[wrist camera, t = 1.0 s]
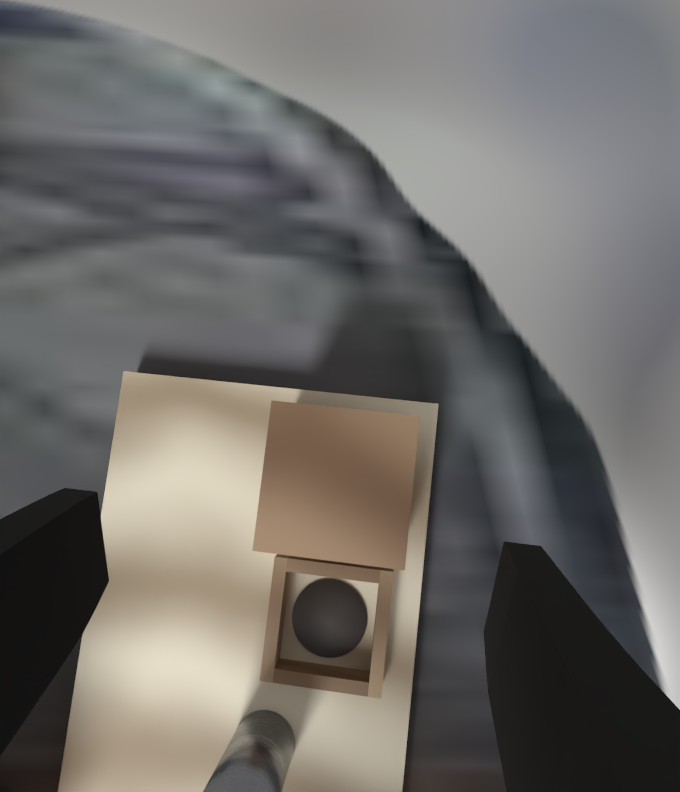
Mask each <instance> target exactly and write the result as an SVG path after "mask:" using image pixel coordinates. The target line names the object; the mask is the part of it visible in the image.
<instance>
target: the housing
mask: <svg viewBox="0 0 680 792" xmlns="http://www.w3.org/2000/svg"><path fill="white" fill-rule="evenodd" d="M419 419H420V416H415V415H405V414H396V413H386V412H377V411H367V410H358V409H348V408H339V407H329V406H320V405H311V404H301V403H292V402H282V401H273V400H271V408H270V416H269V424H268V432H267V440H266V448H265V455H264V463H263V471H262V479H261V487H260V495H259V503H258V511H257V519H256V527H255V535H254V542H253V550H252V551H257V552H265V553H273V554H281V555H288V556H296V557H304V558H312V559H320V560H328V561H335V562H343V563H351V564H359V565H367V566H374V567H382V568H390V569H398V570H405V563H406V553H407V543H408V532H409V522H410V512H411V501H412V491H413V481H414V470H415V460H416V450H417V440H418V429H419Z"/></svg>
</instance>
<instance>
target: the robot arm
mask: <svg viewBox="0 0 680 792" xmlns="http://www.w3.org/2000/svg"><path fill="white" fill-rule="evenodd" d="M108 582H109V576H108V569H107V561H106V554H105V546H104V539H103V532H102V524H101V517H100V509H99V502H98V494H97V492H93V491H84V490H76V489H68V488H64V489H62V490H60V491H57V492H55V493H52V494H50V495H48V496H46V497H44V498H42V499H40V500H38V501H36V502H34V503H32V504H30V505H28V506H26V507H24V508H22V509H20V510H18V511H16V512H14V513H12V514H10V515H8V516H6V517H4V518H2V519H0V756H1V754H2V753H3V751H4V750H5V748H6V747H7V745H8V744H9V742H10V741H11V739H12V738H13V737H14V735H15V734H16V732H17V731H18V729H19V728H20V726H21V725H22V723H23V722H24V720H25V719H26V717H27V716H28V714H29V713H30V711H31V710H32V709H33V707H34V706H35V704H36V703H37V701H38V700H39V698H40V697H41V695H42V694H43V692H44V691H45V689H46V688H47V686H48V685H49V684H50V682H51V681H52V679H53V678H54V676H55V675H56V673H57V672H58V670H59V669H60V667H61V666H62V664H63V663H64V661H65V660H66V658H67V657H68V655H69V654H70V652H71V651H72V649H73V648H74V646H75V645H76V643H77V642H78V640H79V638H80V637H81V635H82V634H83V632H84V630H85V628H86V626H87V625H88V623H89V621H90V619H91V617H92V615H93V613H94V611H95V609H96V607H97V605H98V603H99V601H100V599H101V597H102V595H103V593H104V591H105V589H106V587H107V585H108ZM484 640H485V656H486V670H487V682H488V693H489V698H490V704H491V710H492V715H493V721H494V726H495V731H496V737H497V742H498V747H499V753H500V758H501V763H502V768H503V774H504V779H505V784H506V790H507V792H680V710H679V709H678V708H677V707H676V706H675V704H674V703H673V702H672V701H671V700H670V699H669V698H668V697H667V696H666V695H665V694H664V693H663V692H662V691H661V689H660V688H659V687H658V686H657V685H656V684H655V683H654V682H653V681H652V680H651V679H650V678H649V677H648V676H647V674H646V673H645V672H644V671H643V670H642V669H641V668H640V667H639V666H638V665H637V663H636V662H635V661H634V660H633V659H632V658H631V657H630V655H629V654H628V653H627V652H626V651H625V650H624V649H623V647H622V646H621V645H620V644H619V643H618V642H617V640H616V639H615V638H614V637H613V636H612V634H611V633H610V632H609V631H608V630H607V629H606V627H605V626H604V625H603V624H602V623H601V621H600V620H599V619H598V618H597V616H596V615H595V614H594V613H593V612H592V610H591V609H590V608H589V607H588V605H587V604H586V603H585V602H584V600H583V599H582V598H581V597H580V595H579V594H578V593H577V591H576V590H575V589H574V588H573V586H572V585H571V584H570V583H569V581H568V580H567V579H566V577H565V576H564V575H563V574H562V572H561V571H560V570H559V569H558V567H557V566H556V565H555V563H554V562H553V561H552V560H551V558H550V557H549V556H548V555H547V553H546V552H545V551H544V550H543V548H542V547H541V546H535V545H527V544H519V543H511V542H504V544H503V548H502V553H501V557H500V562H499V566H498V571H497V575H496V580H495V584H494V589H493V593H492V598H491V602H490V607H489V611H488V616H487V620H486V625H485V629H484Z"/></svg>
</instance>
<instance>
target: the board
mask: <svg viewBox="0 0 680 792" xmlns="http://www.w3.org/2000/svg"><path fill="white" fill-rule="evenodd" d="M271 400H273V401H282V402H292V403H301V404H311V405H320V406H329V407H339V408H348V409H358V410H367V411H377V412H386V413H396V414H405V415H415V416H420V419H419V429H418V440H417V450H416V460H415V470H414V481H413V491H412V501H411V512H410V522H409V532H408V543H407V553H406V563H405V570H398V569H390V568H382V567H374V566H367V565H359V564H351V563H343V562H335V561H328V560H320V559H312V558H304V557H296V556H288V555H281V554H273V553H265V552H257V551H252V550H253V542H254V535H255V527H256V519H257V511H258V503H259V495H260V487H261V479H262V471H263V463H264V455H265V448H266V440H267V432H268V424H269V416H270V408H271ZM437 415H438V404H436V403H426V402H416V401H407V400H397V399H387V398H378V397H368V396H358V395H349V394H339V393H329V392H320V391H310V390H300V389H291V388H281V387H272V386H262V385H252V384H243V383H233V382H223V381H214V380H204V379H194V378H185V377H175V376H165V375H156V374H146V373H136V372H127V371H123V378H122V384H121V391H120V397H119V403H118V410H117V416H116V423H115V429H114V435H113V442H112V448H111V455H110V461H109V467H108V474H107V480H106V487H105V493H104V499H103V506H102V512H101V524H102V532H103V539H104V546H105V554H106V561H107V569H108V576H109V582H108V585H107V587H106V589H105V591H104V593H103V595H102V597H101V599H100V601H99V603H98V605H97V607H96V609H95V611H94V613H93V615H92V617H91V619H90V621H89V623H88V625H87V626H86V628H85V630H84V632H83V634H82V640H81V647H80V653H79V659H78V666H77V672H76V679H75V685H74V691H73V698H72V704H71V711H70V717H69V723H68V730H67V736H66V743H65V749H64V755H63V762H62V768H61V775H60V781H59V787H58V792H203V791H204V789H205V787H206V785H207V783H208V782H209V780H210V778H211V776H212V774H213V772H214V770H215V769H216V767H217V765H218V763H219V761H220V759H221V757H222V755H223V754H224V752H225V750H226V748H227V746H228V744H229V742H230V741H231V739H232V737H233V735H234V733H235V731H236V729H237V728H238V726H239V724H240V722H241V721H242V720H243V719H244V718H245V717H246V716H247V715H249V714H250V713H252V712H255V711H258V710H270V711H274V712H276V713H278V714H280V715H281V716H283V717H284V718H285V719H286V720H287V721H288V723H289V724H290V726H291V728H292V730H293V733H294V737H295V748H294V753H293V756H292V759H291V763H290V766H289V770H288V773H287V776H286V780H285V783H284V786H283V790H282V792H402V789H403V778H404V768H405V757H406V746H407V736H408V725H409V714H410V704H411V693H412V682H413V672H414V661H415V650H416V639H417V629H418V618H419V607H420V597H421V586H422V575H423V565H424V554H425V543H426V533H427V522H428V511H429V501H430V490H431V479H432V469H433V458H434V447H435V436H436V426H437Z"/></svg>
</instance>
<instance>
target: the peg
mask: <svg viewBox="0 0 680 792" xmlns="http://www.w3.org/2000/svg"><path fill="white" fill-rule="evenodd" d="M294 748H295V737H294V733H293V730H292V728H291V726H290V724H289V723H288V721H287V720H286V719H285V718H284V717H283V716H281V715H280V714H278V713H276V712H274V711H270V710H258V711H255V712H252V713H250V714H249V715H247V716H246V717H245V718H244V719H243V720H242V721H241V722H240V724H239V726H238V728H237V729H236V731H235V733H234V735H233V737H232V739H231V741H230V742H229V744H228V746H227V748H226V750H225V752H224V754H223V755H222V757H221V759H220V761H219V763H218V765H217V767H216V769H215V770H214V772H213V774H212V776H211V778H210V780H209V782H208V783H207V785H206V787H205V789H204V791H203V792H282V790H283V786H284V783H285V780H286V776H287V773H288V770H289V766H290V763H291V759H292V756H293V753H294Z"/></svg>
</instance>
